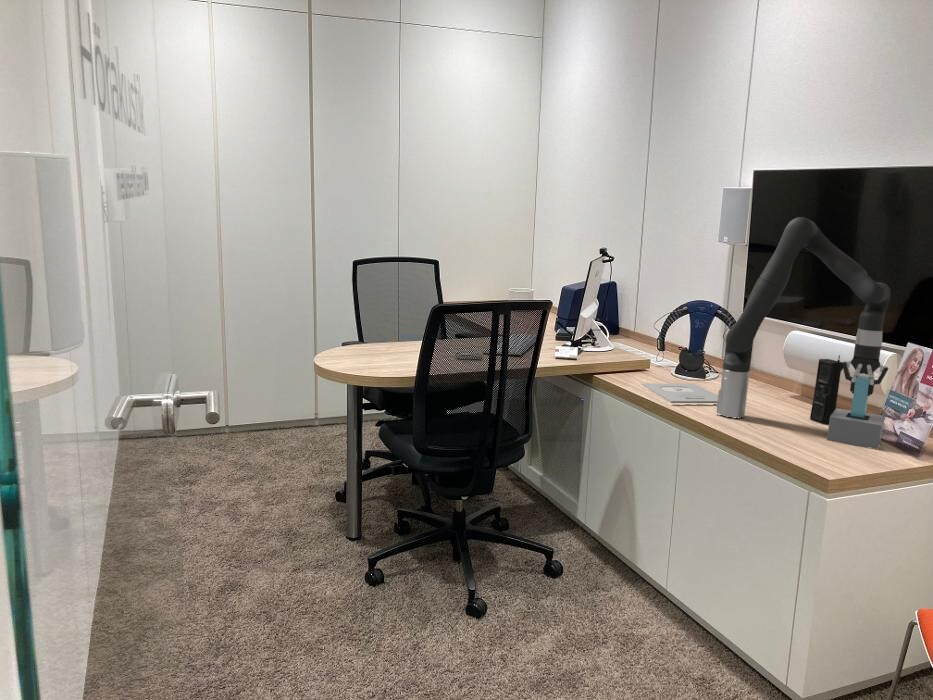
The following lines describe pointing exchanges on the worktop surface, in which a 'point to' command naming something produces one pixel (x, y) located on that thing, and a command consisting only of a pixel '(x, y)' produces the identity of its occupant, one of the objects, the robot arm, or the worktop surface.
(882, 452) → the worktop surface
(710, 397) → the award plaque
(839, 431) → the block
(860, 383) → the teal rectangular block
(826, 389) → the portable radio
